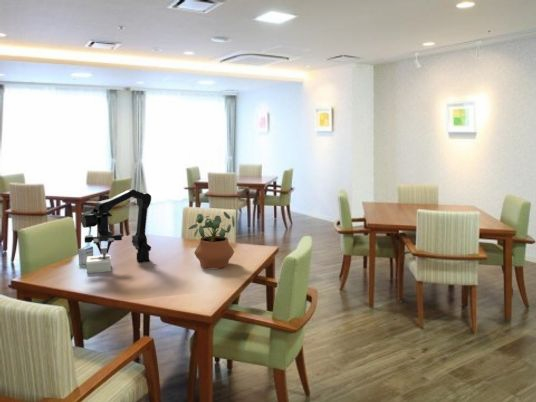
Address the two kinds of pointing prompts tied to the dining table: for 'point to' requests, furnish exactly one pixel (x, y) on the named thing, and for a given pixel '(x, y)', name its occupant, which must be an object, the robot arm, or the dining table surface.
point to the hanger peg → (104, 251)
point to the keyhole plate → (98, 264)
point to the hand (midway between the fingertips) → (104, 253)
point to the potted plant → (213, 243)
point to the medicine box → (85, 254)
